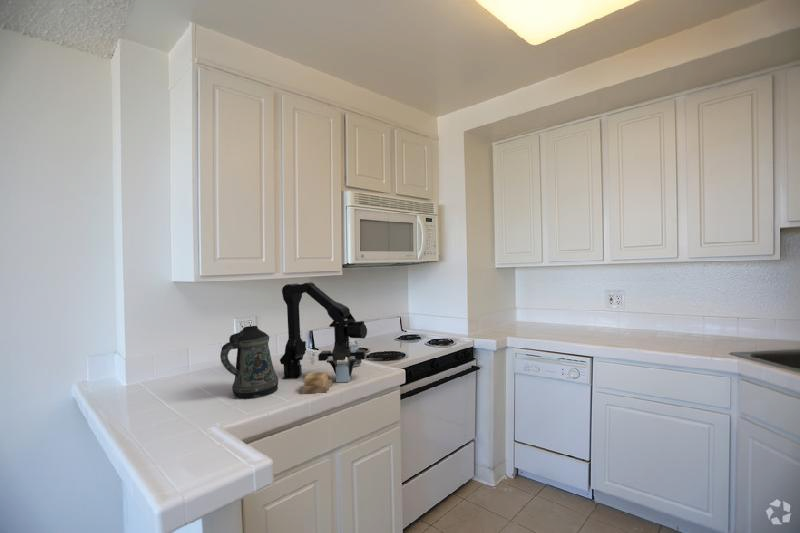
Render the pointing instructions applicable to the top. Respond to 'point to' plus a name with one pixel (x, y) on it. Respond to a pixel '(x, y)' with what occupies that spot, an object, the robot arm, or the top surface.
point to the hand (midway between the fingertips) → (343, 376)
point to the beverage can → (353, 350)
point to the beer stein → (250, 364)
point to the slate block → (342, 373)
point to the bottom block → (317, 388)
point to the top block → (316, 379)
